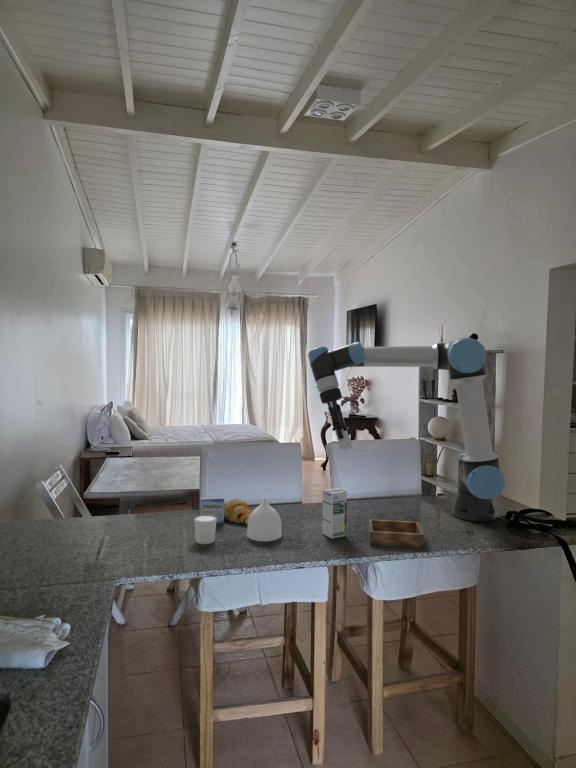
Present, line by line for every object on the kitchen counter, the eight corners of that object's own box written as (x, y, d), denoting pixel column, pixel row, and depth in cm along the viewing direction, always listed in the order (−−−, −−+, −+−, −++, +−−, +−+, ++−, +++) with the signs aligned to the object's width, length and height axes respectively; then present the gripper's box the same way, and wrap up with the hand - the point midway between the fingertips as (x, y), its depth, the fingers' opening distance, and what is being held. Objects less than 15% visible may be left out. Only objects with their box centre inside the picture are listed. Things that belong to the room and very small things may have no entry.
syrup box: (331, 539, 157) (332, 493, 156) (321, 533, 162) (322, 488, 162) (346, 536, 160) (347, 491, 159) (336, 531, 165) (337, 487, 164)
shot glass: (220, 538, 156) (220, 516, 156) (209, 546, 150) (210, 522, 149) (200, 536, 158) (200, 513, 158) (189, 543, 152) (189, 520, 152)
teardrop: (265, 527, 167) (266, 492, 167) (288, 536, 160) (289, 498, 159) (239, 535, 160) (240, 497, 159) (262, 544, 152) (263, 504, 151)
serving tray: (418, 534, 163) (418, 521, 163) (423, 548, 150) (424, 534, 150) (368, 531, 165) (368, 519, 165) (369, 545, 152) (370, 531, 152)
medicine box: (200, 525, 169) (200, 499, 169) (199, 521, 173) (200, 496, 173) (224, 523, 171) (224, 498, 171) (222, 520, 175) (223, 495, 175)
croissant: (259, 535, 171) (268, 512, 172) (236, 525, 165) (246, 503, 167) (227, 518, 188) (236, 498, 189) (206, 509, 182) (216, 488, 184)
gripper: (324, 397, 190) (340, 451, 186) (313, 389, 165) (331, 451, 161) (343, 391, 188) (359, 446, 184) (334, 382, 164) (354, 445, 160)
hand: (346, 448), depth 173 cm, fingers open, 13 cm apart
